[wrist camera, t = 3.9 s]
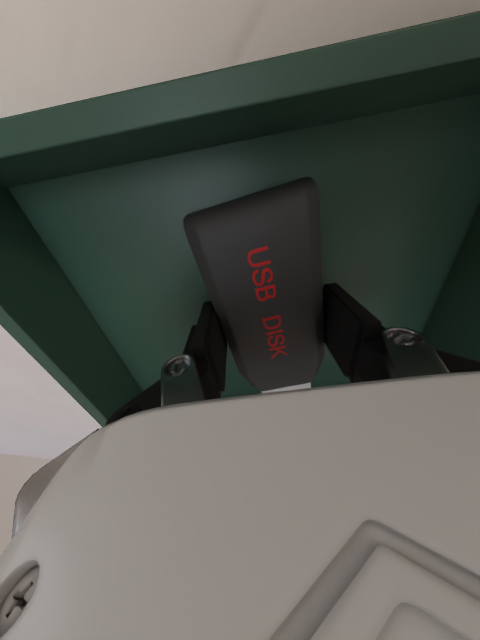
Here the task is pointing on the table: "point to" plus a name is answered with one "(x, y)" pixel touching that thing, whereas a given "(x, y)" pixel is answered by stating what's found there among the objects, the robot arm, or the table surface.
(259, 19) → the table surface
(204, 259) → the usb drive
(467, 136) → the bin
